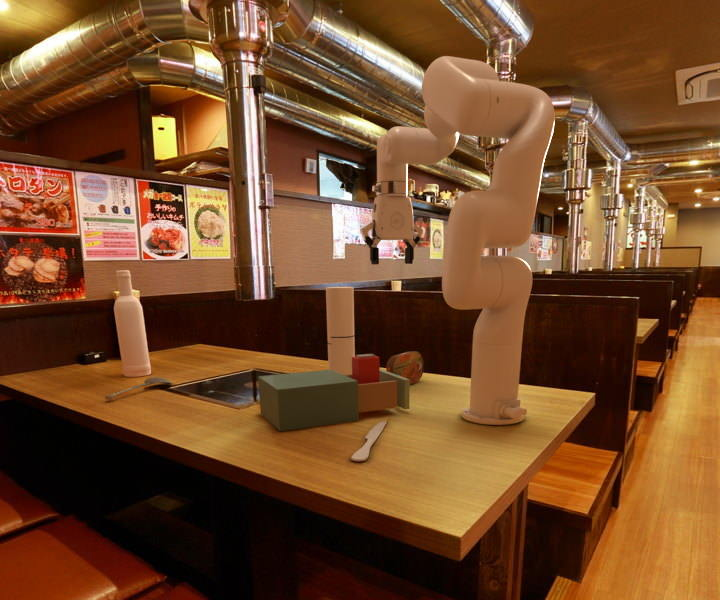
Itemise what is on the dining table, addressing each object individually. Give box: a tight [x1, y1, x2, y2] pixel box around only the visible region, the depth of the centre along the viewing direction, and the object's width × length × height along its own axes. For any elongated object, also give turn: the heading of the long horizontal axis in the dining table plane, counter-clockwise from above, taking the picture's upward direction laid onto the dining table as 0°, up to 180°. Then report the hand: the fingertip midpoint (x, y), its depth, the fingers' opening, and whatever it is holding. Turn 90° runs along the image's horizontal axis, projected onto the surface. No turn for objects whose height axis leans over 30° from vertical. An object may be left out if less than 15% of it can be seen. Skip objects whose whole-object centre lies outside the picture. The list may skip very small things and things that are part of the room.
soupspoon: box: [104, 376, 173, 402], centre depth 144 cm, size 22×3×7 cm
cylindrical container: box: [325, 286, 356, 375], centre depth 147 cm, size 7×7×25 cm
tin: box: [385, 350, 425, 386], centre depth 147 cm, size 15×3×8 cm, turn 143°
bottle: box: [113, 269, 152, 378], centre depth 163 cm, size 8×8×30 cm
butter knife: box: [350, 420, 388, 463], centre depth 101 cm, size 1×24×3 cm
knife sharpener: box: [352, 353, 381, 384], centre depth 121 cm, size 4×5×10 cm
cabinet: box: [257, 369, 360, 432], centre depth 116 cm, size 17×15×8 cm
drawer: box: [345, 368, 411, 413], centre depth 121 cm, size 17×14×6 cm
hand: (392, 264), depth 143 cm, fingers open, 9 cm apart
